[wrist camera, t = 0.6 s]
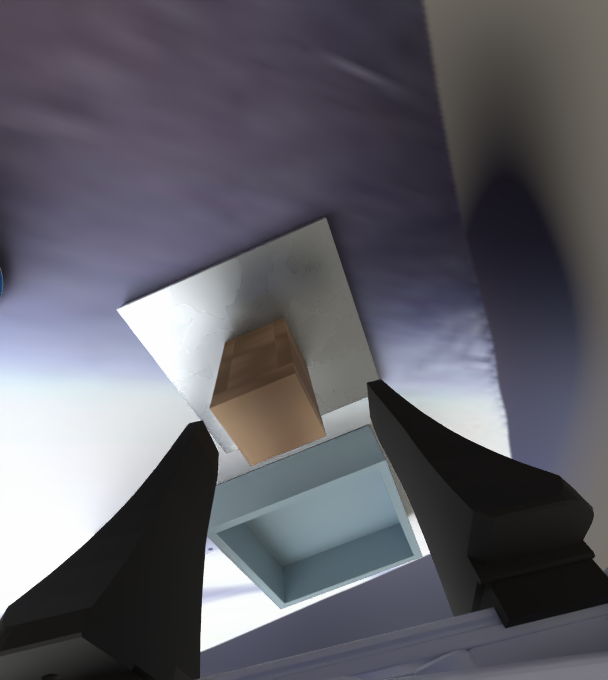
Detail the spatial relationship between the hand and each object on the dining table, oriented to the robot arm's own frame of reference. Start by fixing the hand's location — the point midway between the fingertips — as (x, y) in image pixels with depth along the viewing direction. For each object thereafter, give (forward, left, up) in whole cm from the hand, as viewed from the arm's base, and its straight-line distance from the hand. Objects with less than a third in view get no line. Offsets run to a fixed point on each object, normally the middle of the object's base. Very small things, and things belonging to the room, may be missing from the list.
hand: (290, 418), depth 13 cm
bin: (-4, -20, -10) cm, 23 cm away
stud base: (-1, -1, -10) cm, 10 cm away
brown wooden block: (-1, -1, -9) cm, 9 cm away
